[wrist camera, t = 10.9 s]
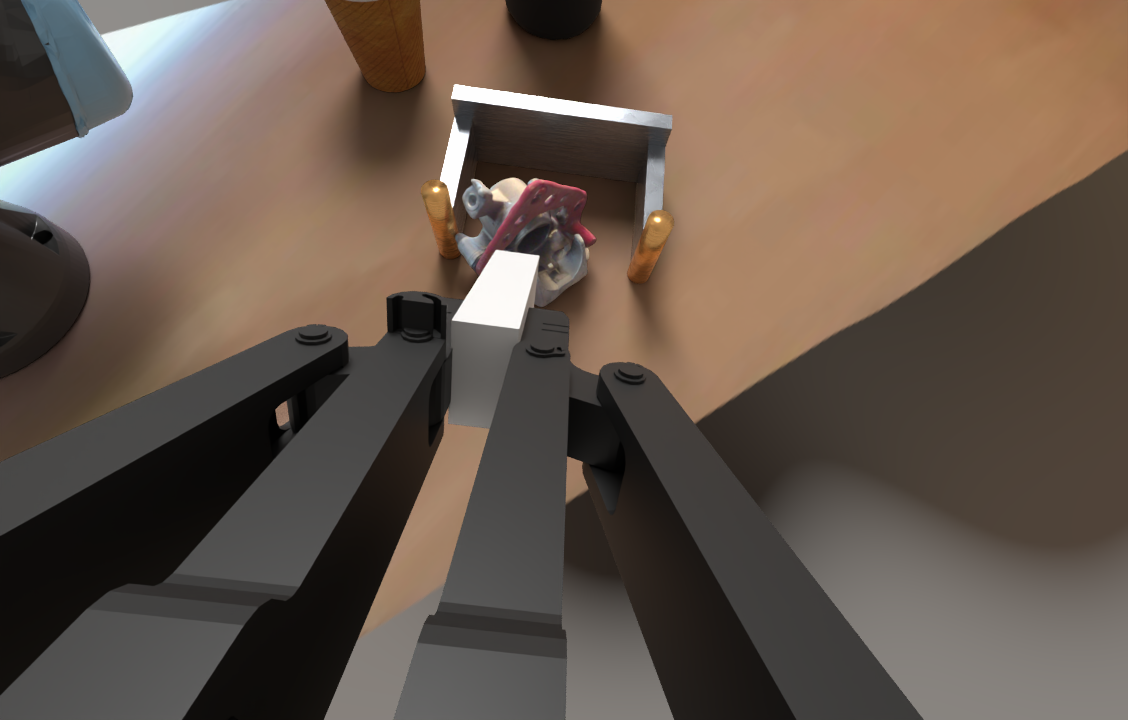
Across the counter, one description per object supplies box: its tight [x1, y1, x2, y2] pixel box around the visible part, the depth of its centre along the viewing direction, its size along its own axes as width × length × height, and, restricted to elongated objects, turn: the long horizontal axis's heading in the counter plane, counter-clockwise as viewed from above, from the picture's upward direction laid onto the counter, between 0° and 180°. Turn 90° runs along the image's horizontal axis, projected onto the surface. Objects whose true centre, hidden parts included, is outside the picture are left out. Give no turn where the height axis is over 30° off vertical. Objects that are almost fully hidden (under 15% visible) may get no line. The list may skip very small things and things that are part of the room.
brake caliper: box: [455, 178, 596, 307], centre depth 41 cm, size 11×11×12 cm
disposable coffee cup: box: [325, 0, 426, 92], centre depth 45 cm, size 10×10×12 cm
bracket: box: [421, 85, 674, 284], centre depth 42 cm, size 19×12×8 cm, turn 84°
